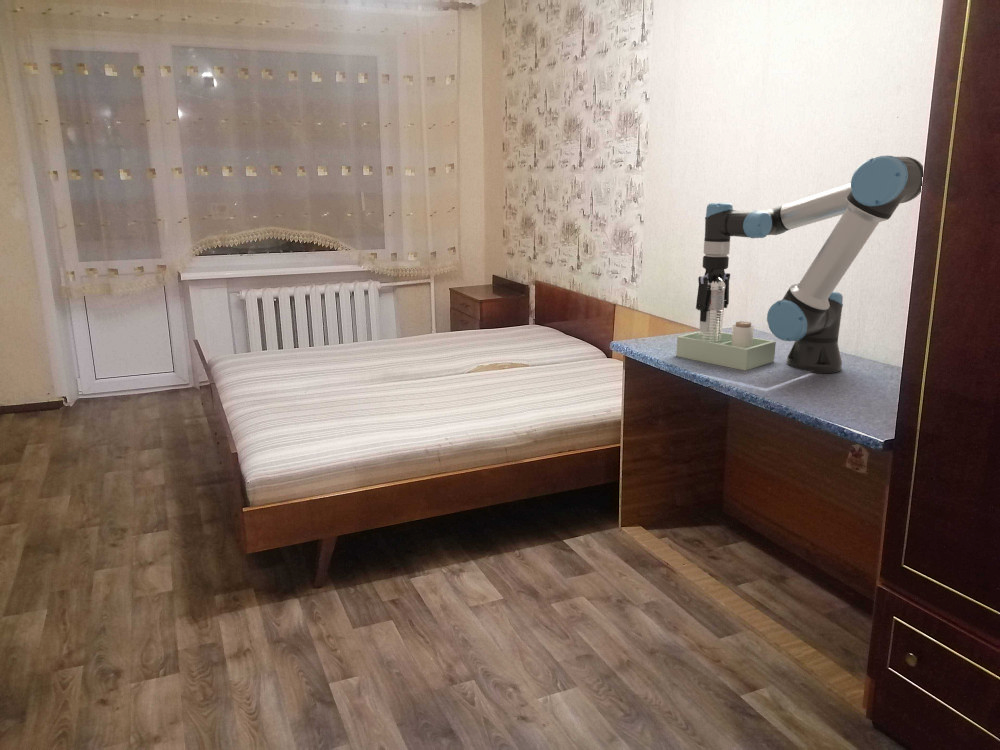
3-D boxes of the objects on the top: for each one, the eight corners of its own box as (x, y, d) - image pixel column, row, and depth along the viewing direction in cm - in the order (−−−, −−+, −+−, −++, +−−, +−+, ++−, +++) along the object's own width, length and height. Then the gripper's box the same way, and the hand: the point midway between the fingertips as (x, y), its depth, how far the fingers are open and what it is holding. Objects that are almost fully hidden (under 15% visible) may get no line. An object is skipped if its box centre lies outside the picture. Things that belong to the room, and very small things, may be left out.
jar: (754, 362, 227) (758, 322, 224) (743, 365, 223) (747, 325, 220) (736, 358, 231) (740, 320, 228) (726, 361, 227) (729, 322, 224)
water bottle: (723, 353, 231) (729, 271, 225) (700, 353, 231) (706, 271, 225) (717, 348, 238) (723, 268, 231) (695, 348, 238) (700, 268, 231)
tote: (773, 363, 228) (775, 341, 226) (745, 373, 217) (747, 349, 216) (705, 350, 245) (706, 329, 243) (676, 358, 235) (677, 336, 233)
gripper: (723, 252, 236) (718, 324, 242) (686, 256, 223) (681, 332, 229) (744, 253, 230) (739, 327, 236) (708, 258, 218) (702, 336, 224)
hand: (710, 329), depth 233 cm, fingers closed on water bottle, 7 cm apart
